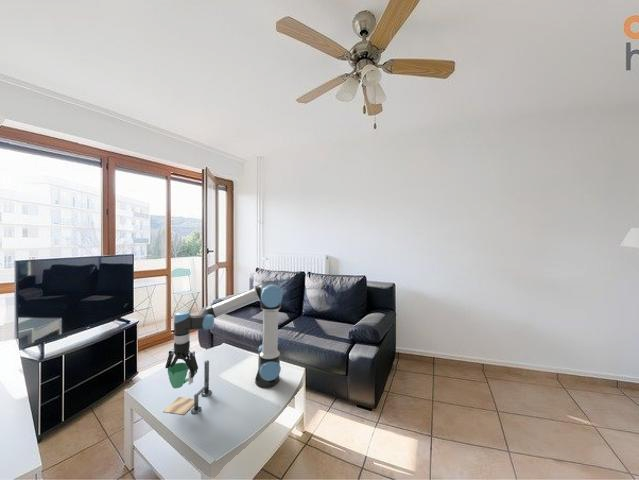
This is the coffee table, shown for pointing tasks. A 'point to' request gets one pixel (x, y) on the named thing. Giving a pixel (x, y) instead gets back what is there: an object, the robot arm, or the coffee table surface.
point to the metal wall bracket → (205, 388)
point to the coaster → (180, 406)
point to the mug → (178, 374)
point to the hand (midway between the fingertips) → (181, 382)
